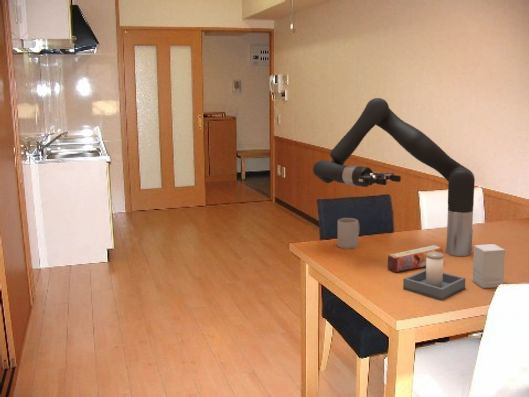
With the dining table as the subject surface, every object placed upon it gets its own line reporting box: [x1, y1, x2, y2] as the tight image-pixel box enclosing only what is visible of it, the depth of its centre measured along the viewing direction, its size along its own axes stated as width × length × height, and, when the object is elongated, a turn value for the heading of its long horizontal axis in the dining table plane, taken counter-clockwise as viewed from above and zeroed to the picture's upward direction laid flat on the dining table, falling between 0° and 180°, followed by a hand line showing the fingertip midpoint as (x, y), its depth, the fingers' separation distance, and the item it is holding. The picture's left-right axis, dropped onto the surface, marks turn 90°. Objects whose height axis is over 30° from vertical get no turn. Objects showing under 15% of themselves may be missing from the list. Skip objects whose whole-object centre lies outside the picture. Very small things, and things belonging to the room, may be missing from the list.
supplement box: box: [472, 243, 506, 289], centre depth 180 cm, size 7×7×13 cm
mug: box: [336, 217, 360, 250], centre depth 228 cm, size 12×8×11 cm
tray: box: [402, 268, 466, 301], centre depth 178 cm, size 14×14×4 cm
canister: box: [425, 252, 444, 288], centre depth 177 cm, size 5×5×11 cm
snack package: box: [386, 244, 444, 273], centre depth 200 cm, size 21×7×7 cm, turn 114°
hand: (393, 180), depth 196 cm, fingers open, 8 cm apart
